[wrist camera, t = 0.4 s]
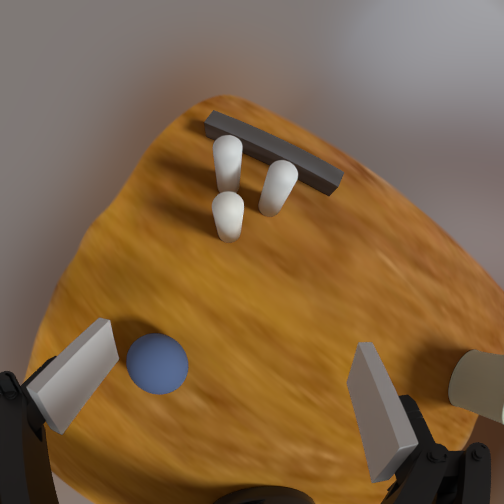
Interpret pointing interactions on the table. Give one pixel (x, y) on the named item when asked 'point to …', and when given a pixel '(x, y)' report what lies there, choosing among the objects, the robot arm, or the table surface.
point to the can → (479, 384)
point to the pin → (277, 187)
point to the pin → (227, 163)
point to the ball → (157, 363)
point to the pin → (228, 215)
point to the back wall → (275, 151)
